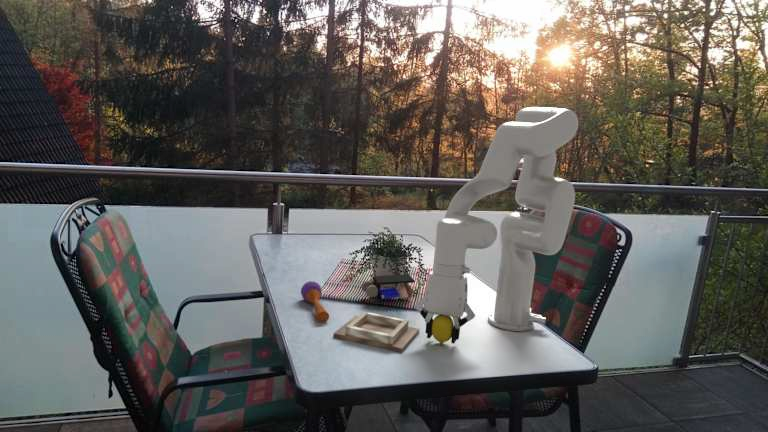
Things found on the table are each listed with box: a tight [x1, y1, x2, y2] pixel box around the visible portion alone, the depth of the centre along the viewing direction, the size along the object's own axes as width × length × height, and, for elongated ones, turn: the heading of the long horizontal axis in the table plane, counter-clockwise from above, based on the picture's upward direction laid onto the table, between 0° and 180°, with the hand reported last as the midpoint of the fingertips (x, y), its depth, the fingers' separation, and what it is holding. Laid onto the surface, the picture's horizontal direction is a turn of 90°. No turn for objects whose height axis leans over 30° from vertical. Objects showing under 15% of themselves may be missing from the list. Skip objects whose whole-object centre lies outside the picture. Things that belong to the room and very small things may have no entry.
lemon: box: [432, 314, 454, 344], centre depth 137 cm, size 6×6×8 cm
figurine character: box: [360, 273, 415, 303], centre depth 167 cm, size 7×8×15 cm
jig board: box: [333, 311, 420, 353], centre depth 140 cm, size 18×14×3 cm
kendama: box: [300, 281, 330, 323], centre depth 155 cm, size 6×6×20 cm
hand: (441, 338), depth 138 cm, fingers closed on lemon, 5 cm apart
